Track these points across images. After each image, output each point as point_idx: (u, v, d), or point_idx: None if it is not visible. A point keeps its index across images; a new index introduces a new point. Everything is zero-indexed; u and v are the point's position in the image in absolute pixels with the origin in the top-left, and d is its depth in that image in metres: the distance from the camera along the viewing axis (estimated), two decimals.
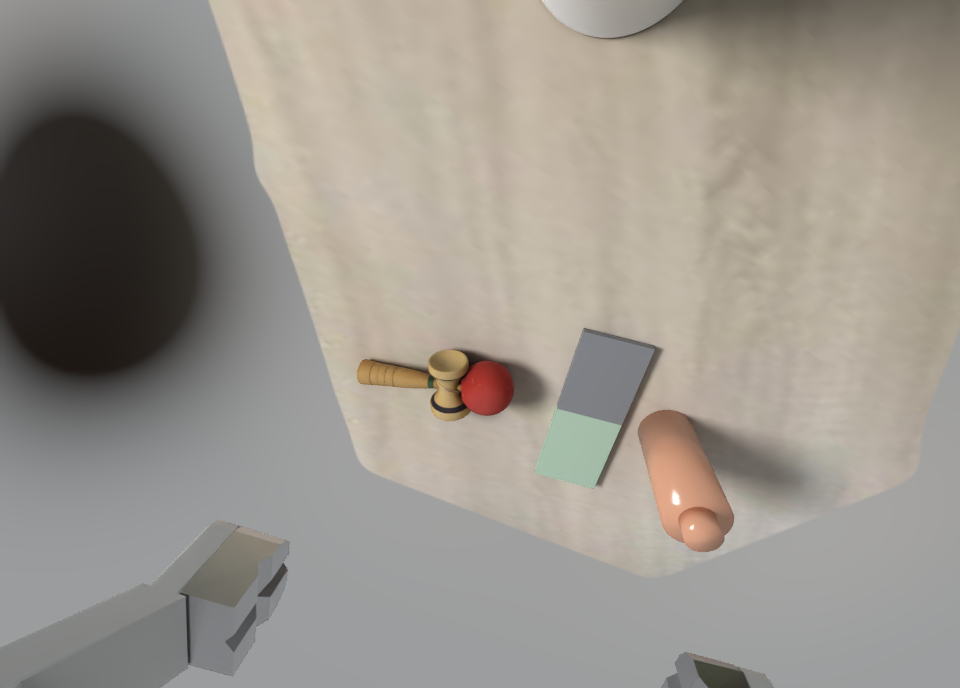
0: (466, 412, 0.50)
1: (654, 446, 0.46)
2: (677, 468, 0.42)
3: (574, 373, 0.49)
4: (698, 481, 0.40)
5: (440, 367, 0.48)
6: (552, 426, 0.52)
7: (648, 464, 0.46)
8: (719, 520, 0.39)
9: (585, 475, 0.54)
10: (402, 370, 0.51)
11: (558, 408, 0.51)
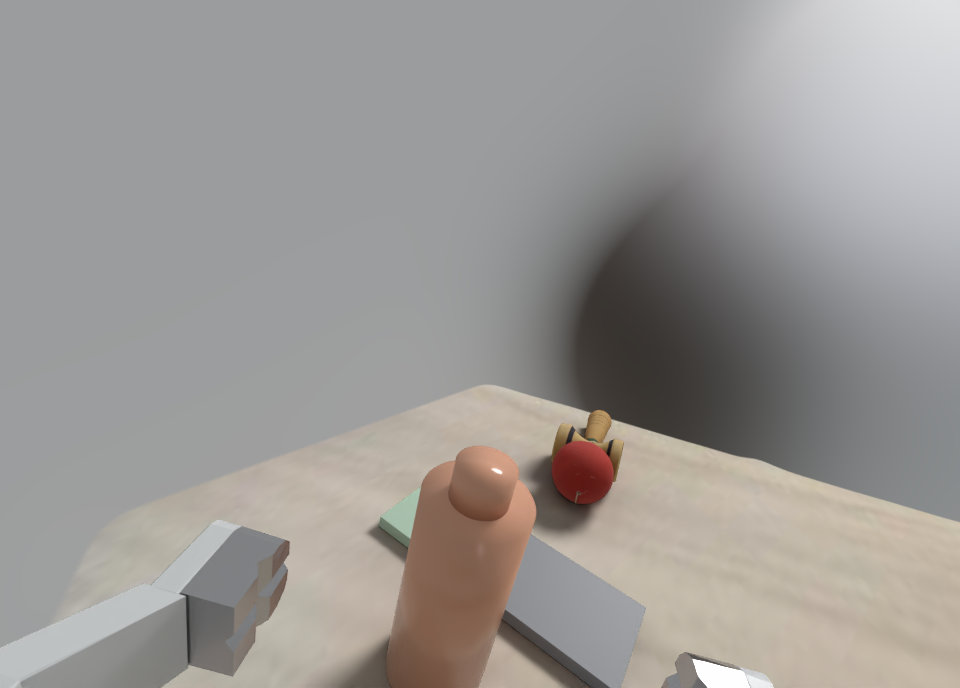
0: (559, 443, 0.47)
1: None
2: None
3: (581, 572, 0.35)
4: (525, 546, 0.23)
5: None
6: None
7: None
8: (470, 522, 0.21)
9: (409, 517, 0.36)
10: (604, 436, 0.53)
11: None
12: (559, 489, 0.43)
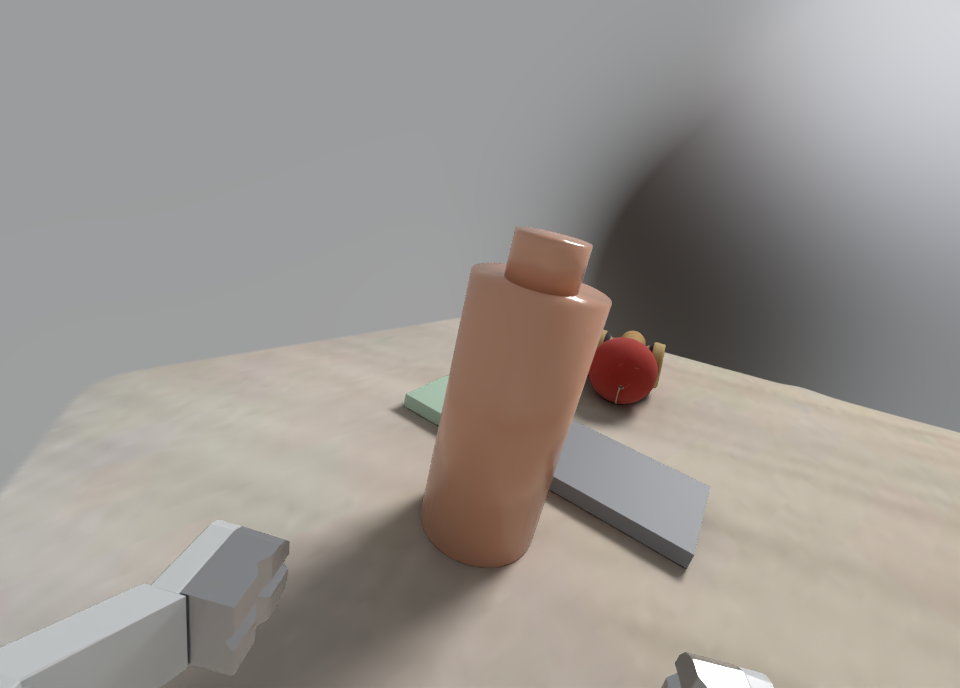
0: None
1: None
2: None
3: (633, 453, 0.31)
4: (598, 341, 0.19)
5: None
6: None
7: None
8: (536, 293, 0.17)
9: (437, 397, 0.32)
10: None
11: None
12: (598, 387, 0.39)
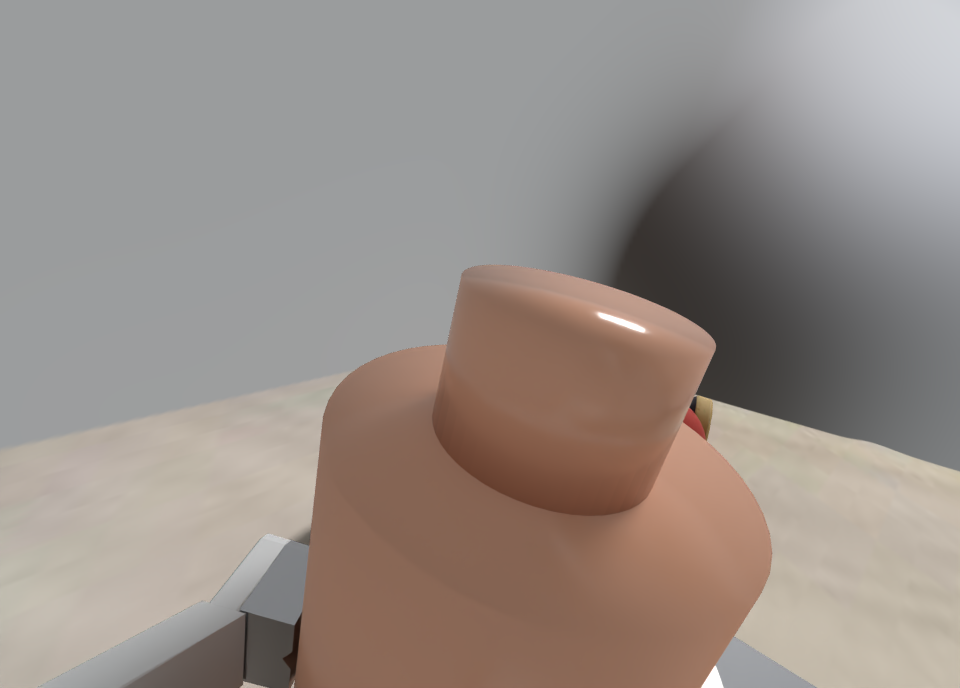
0: None
1: None
2: None
3: None
4: None
5: None
6: None
7: None
8: (526, 519, 0.05)
9: None
10: None
11: None
12: None
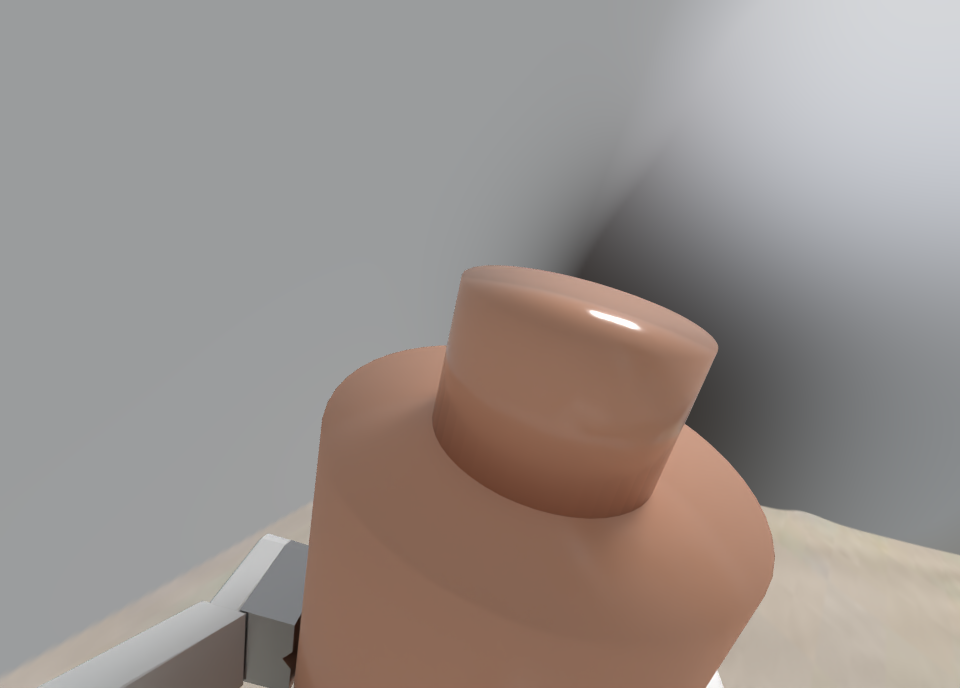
0: None
1: None
2: None
3: None
4: None
5: None
6: None
7: None
8: (527, 522, 0.05)
9: None
10: None
11: None
12: None
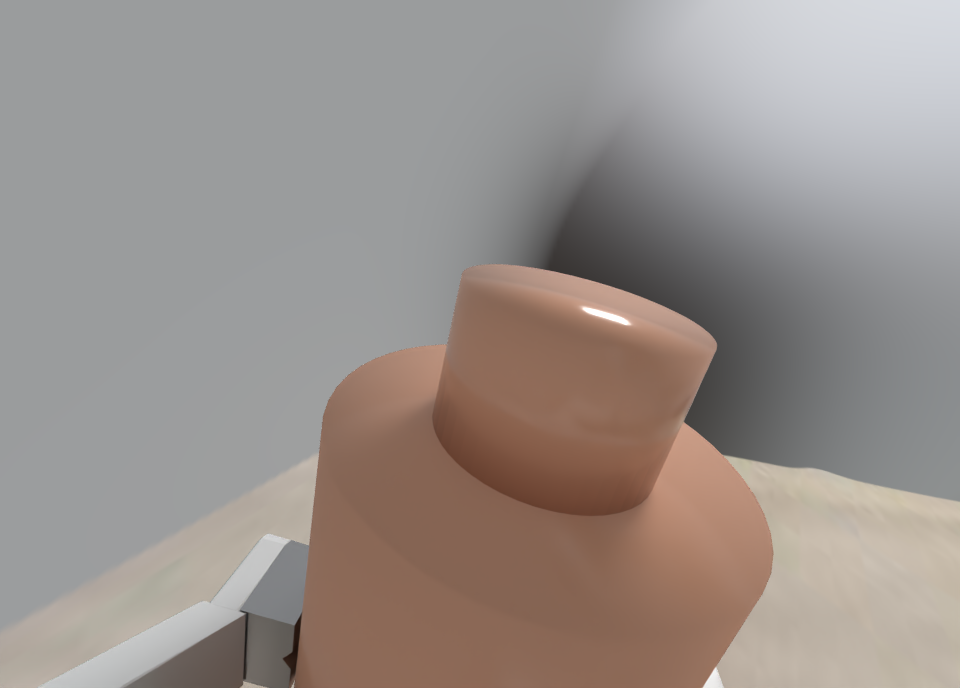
0: None
1: None
2: None
3: None
4: None
5: None
6: None
7: None
8: (527, 519, 0.05)
9: None
10: None
11: None
12: None
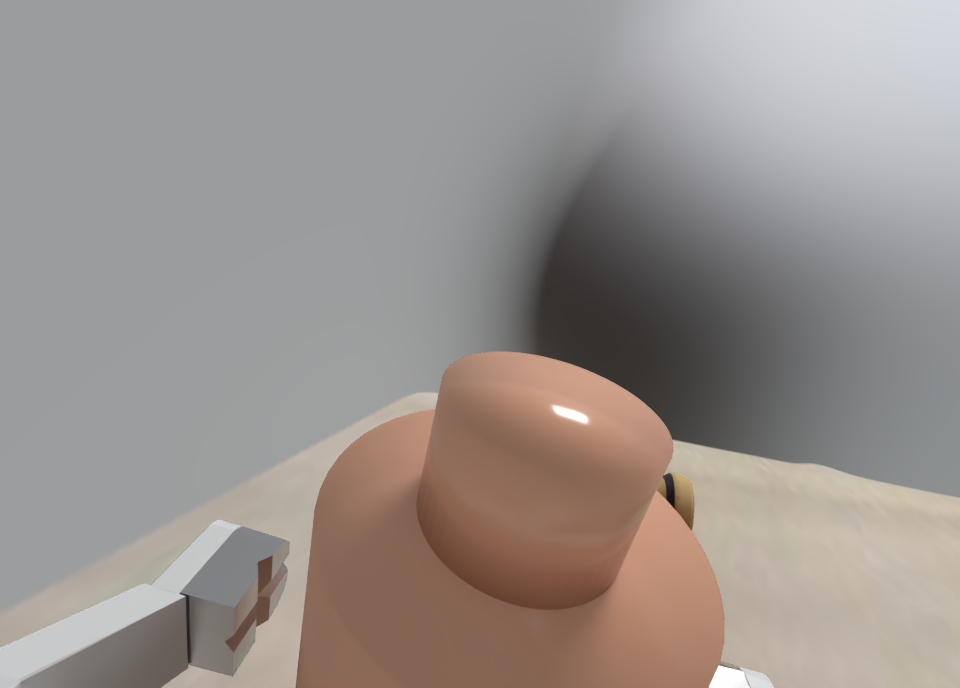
0: None
1: None
2: None
3: None
4: None
5: None
6: None
7: None
8: (497, 617, 0.05)
9: None
10: None
11: None
12: None
